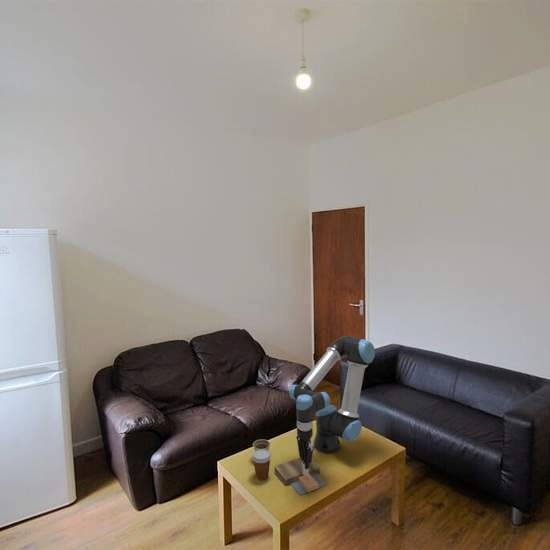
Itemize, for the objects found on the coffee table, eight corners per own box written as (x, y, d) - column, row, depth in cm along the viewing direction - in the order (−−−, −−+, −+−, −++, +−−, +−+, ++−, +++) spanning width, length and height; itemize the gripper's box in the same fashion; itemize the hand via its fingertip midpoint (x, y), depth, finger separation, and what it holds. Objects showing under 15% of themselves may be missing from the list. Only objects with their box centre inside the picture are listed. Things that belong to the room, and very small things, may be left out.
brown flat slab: (307, 460, 195) (307, 454, 194) (320, 472, 184) (320, 467, 184) (274, 471, 186) (274, 466, 185) (285, 485, 175) (285, 479, 175)
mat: (316, 474, 183) (316, 473, 183) (326, 484, 175) (326, 484, 175) (290, 484, 176) (290, 483, 176) (299, 495, 168) (299, 494, 168)
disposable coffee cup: (256, 484, 176) (255, 461, 175) (250, 473, 185) (249, 451, 184) (274, 479, 180) (273, 456, 179) (267, 468, 189) (266, 446, 187)
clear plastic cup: (268, 465, 191) (268, 450, 190) (251, 463, 193) (250, 448, 192) (272, 455, 200) (271, 440, 199) (255, 453, 202) (255, 438, 201)
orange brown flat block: (308, 477, 180) (308, 473, 180) (318, 488, 172) (318, 484, 172) (298, 481, 178) (298, 477, 177) (308, 492, 170) (308, 488, 169)
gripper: (291, 423, 179) (292, 468, 181) (305, 436, 167) (306, 483, 170) (304, 420, 182) (305, 464, 184) (318, 431, 171) (319, 478, 173)
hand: (305, 473), depth 177 cm, fingers closed
